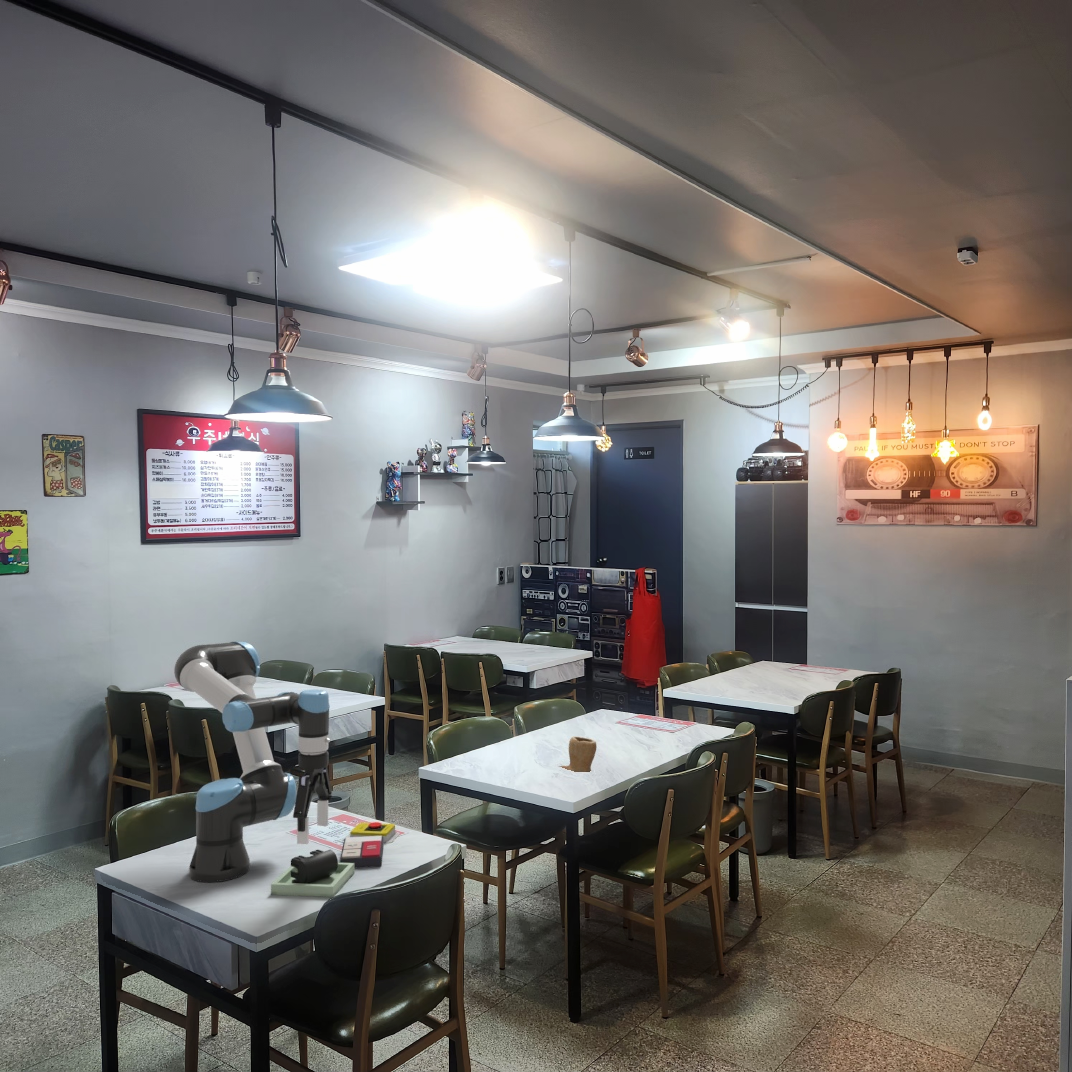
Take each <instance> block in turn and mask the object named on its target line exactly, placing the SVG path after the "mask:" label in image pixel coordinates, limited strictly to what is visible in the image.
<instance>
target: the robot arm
mask: <svg viewBox="0 0 1072 1072" xmlns="http://www.w3.org/2000/svg"><path fill="white" fill-rule="evenodd" d="M258 654H259V653H258V652H257V650H256V649H255V647H254V646H253V645H252V644H250V643H248V642H245V641H230V642H223V643H222V642H221V643H210V644H198V645H194V646H191V647H189V648H187V649H186V650H185V651H184V652H182V653H181V654H180V656H179V657H178V658H177V659H176V662H175V665H174V667H173V668H174V669H173V671H174V677H175V679H176V682H177V683H178V684H179V686H180V687H182V689H184V690H186V691H188V692H192V693H195V694H197V695H198V696H199V697H200V698H201V699H203V700H204V701H205V702H207V703H208V704H210V705H211V706H212V707H213V708H215V709H216V710H218V711H219V713H221V715H222V716H221V717H222V723H223V725H224V728H225V729H226V730H227V731H229V732H230V733H232V734H233V739H234V743H235V746H236V750H237V755H238V757H239V761H240V766H241V770H242V774H241V776H240V777H239V778H238V777H229V778H221V779H217V780H214V781H211V782H208V783H206V784H204V785H203V786H201V787H200V789H198V791H197V793H196V801H195V802H196V803H195V807H194V808H195V820H196V821H195V823H196V824H195V827H196V828H195V829H196V830H195V832H196V833H195V835H196V836H195V837H196V838H195V839H196V844H195V848H194V851H193V854H192V858H191V860H190V864H189V867H188V869H189V870H188V871H189V872H188V873H189V875H188V876H189V878H190V879H191V880H193V881H196V882H202V883H216V882H224V881H229V880H232V879H236V878H238V877H241V876H244V875H245V874H247V873H248V872H249V870H250V868H251V867H250V865H251V863H250V861H251V860H250V857H249V854H248V851H247V848H246V845H245V841H244V839H243V838H244V831H243V830H244V829H243V828H245V827H250V826H253V825H257V824H262V823H265V822H270V821H277V820H278V819H281V818H284V817H287V816H288V815H290V814H291V813H292V812H293V814H292V818H293V819H296V844H298V845H300V844H301V845H308V844H309V842H310V840H309V839H310V838H309V836H310V835H309V834H310V831H309V830H310V829H309V827H310V826H309V825H310V824H309V823H310V821H309V819H310V817H309V816H308V813H309V811H310V806H311V802H312V798H313V795H314V793H316V795H317V797H318V800H317V805H316V807H317V809H316V810H317V813H316V814H317V816H316V818H317V821H316V823H317V826H320V827H321V826H322V827H323V826H324V827H327V826H328V825H329V800H330V801H331V800H332V798H333V791H332V787H331V782H330V776H329V772H328V766H329V758H330V757H329V755H330V754H329V751H328V750H329V743H331V738H329V737H330V736H329V729H330V726H329V725H330V703H329V702H330V699H329V692H327V691H326V690H324V689H307V690H305V689H304V690H302V691H300V692H299V693H298V692H294V691H282V692H281V693H279V694H277V695H274V696H267V697H259V698H257V697H256V693H255V690H254V685H255V684H256V682H257V677H258V676H259V675H260V670H261V667H260V664H261V662H260V658H259V655H258ZM288 724H294V725H298V739H297V740H298V743H297V744H298V745H297V747H298V748H297V749H298V750H297V751H298V752H299V753H298V756H297V757H298V765H297V766H298V768H300V769H301V770H303V771H304V774H303V776H299V777H298V786H297V784H296V780H295V778H294V776H293V775H292V774H291V773H288V772H284V771H283V767H282V765H281V764H280V763H278V762H275V761H274V760H275V759H274V757H273V753H272V749H271V746H270V743H269V739H268V735H267V732H266V728H268V727H274V726H281V725H288ZM297 787H298V788H297Z"/></svg>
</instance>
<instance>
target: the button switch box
mask: <svg viewBox="0 0 1072 1072" xmlns="http://www.w3.org/2000/svg"><path fill="white" fill-rule="evenodd" d="M346 837H347V836H346ZM346 837H344V838H345V839H344V838H343V839H344V841H343V843H342V848H341V853H340V857H339V863H354V865H355V869H359V868H360V869H361V868H378V867H382V864H383V856H384V855H383V854H384V843H383V836H365V837H347V838H346Z"/></svg>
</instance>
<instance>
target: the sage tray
mask: <svg viewBox="0 0 1072 1072" xmlns="http://www.w3.org/2000/svg"><path fill="white" fill-rule="evenodd" d="M355 869H356V868H355V865H354V863H340V862H338V868H337V870H336V872H335V873H333V874H332V875H331V876H329V877H326V878H323V879H321V880H318V881H315V882H313V883H310V884H300V883H292V880H294V879H295V878H293V877H291V871H295V872H298V869H297V868H295V867H292V866H291V865H290V866H288V868H286V870H285V871H284V872H283V873H281V875H279V876H278V877H277V878H276V879H275V880H274V881H273V882H272V883H271V884H270V895H277V896H283V895H284V896H301V897H302V896H303V897H320V898H321V897H323V898H325V897H326V898H334V897H335V896H336V894H337V893H339V891H340V890H341V889H342V888H343V886H344V885H346V883H347V882H348V881H349V879H350V878H351V877H352V876H353V875H354V874H355V872H356V871H355Z"/></svg>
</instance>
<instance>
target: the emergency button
mask: <svg viewBox="0 0 1072 1072" xmlns="http://www.w3.org/2000/svg"><path fill="white" fill-rule="evenodd" d="M400 835H401V833H400V832H398V831H397V832H396V824H395V823H381V822H379V821H376V822H375V821H373V822H359V823H358V824H357V825H355V827H353V828H352V829H351V830H350V832H349V834H348V835H347V836H346V837H344V838H343V840H342V841H343V842H344V839H345V838H347V837H365V836H383V844H392V843H393V842H394V841H395V840H396V839H397V837H399V836H400Z"/></svg>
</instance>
